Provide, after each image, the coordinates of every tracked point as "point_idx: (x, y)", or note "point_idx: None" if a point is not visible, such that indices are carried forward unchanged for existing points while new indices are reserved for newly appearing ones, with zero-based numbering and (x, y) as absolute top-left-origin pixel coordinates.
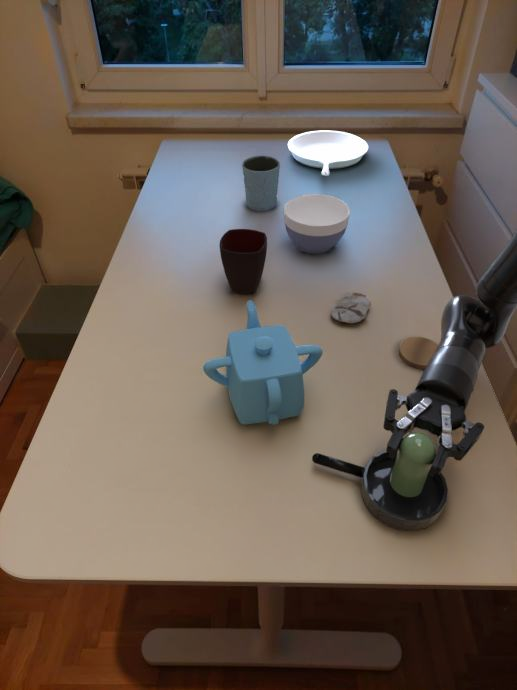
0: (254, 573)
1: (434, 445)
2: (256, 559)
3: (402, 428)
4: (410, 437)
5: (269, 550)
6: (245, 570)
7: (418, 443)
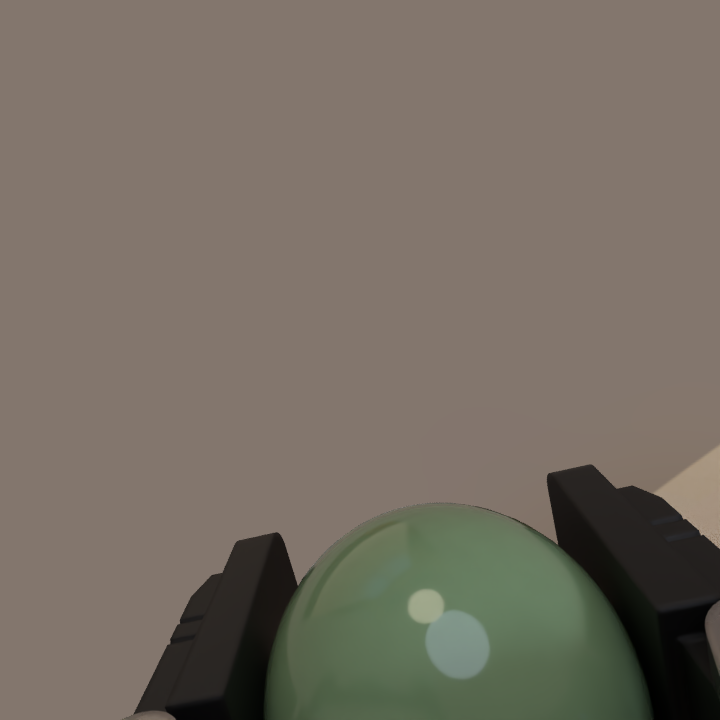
0: (667, 489)
1: (279, 677)
2: (700, 502)
3: (709, 608)
4: (522, 536)
5: (706, 526)
6: (687, 482)
7: (413, 508)
